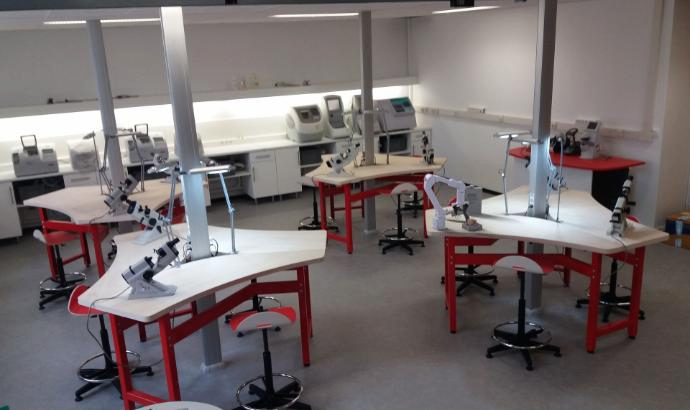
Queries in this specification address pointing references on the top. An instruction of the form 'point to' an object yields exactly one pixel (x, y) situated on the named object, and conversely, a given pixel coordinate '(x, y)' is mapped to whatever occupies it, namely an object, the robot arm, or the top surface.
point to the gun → (459, 212)
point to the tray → (471, 227)
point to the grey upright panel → (473, 199)
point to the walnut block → (471, 222)
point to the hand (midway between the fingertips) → (460, 214)
